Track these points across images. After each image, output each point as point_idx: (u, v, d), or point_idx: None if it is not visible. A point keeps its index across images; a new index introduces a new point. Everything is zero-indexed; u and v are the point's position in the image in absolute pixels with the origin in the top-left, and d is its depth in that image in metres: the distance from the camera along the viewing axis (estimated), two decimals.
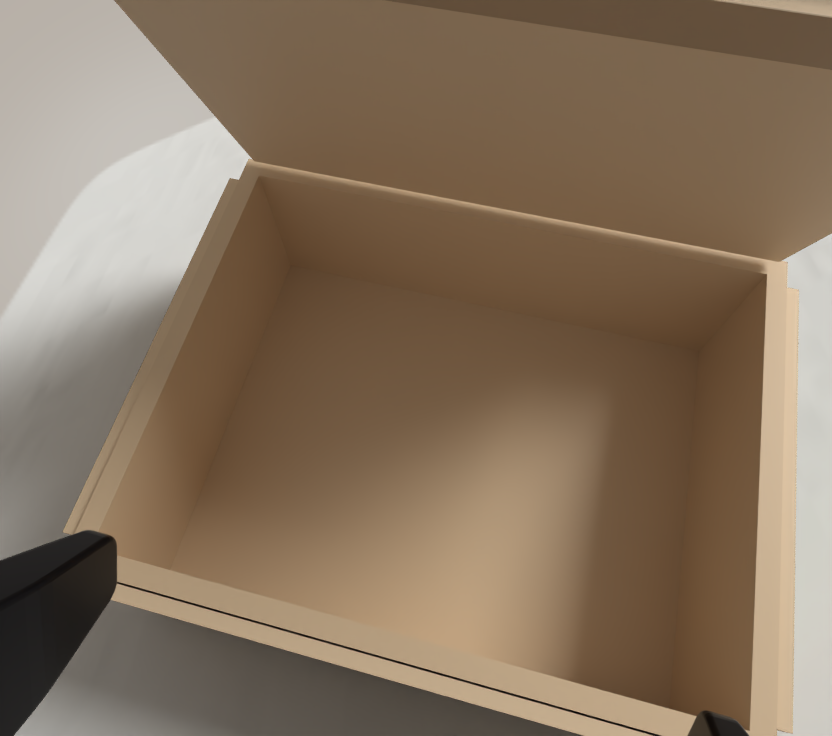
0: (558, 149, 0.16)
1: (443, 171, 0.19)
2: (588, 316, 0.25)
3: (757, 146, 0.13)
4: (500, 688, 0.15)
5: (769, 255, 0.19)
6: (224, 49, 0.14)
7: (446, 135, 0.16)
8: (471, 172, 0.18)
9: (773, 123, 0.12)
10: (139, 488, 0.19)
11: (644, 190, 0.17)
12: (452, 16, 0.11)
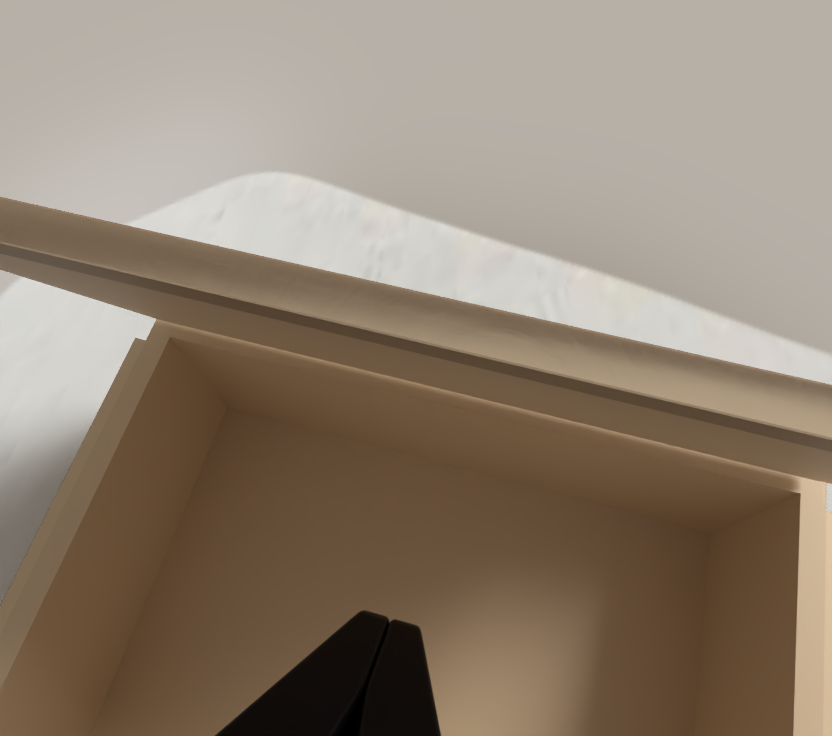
0: (526, 399, 0.11)
1: (385, 371, 0.15)
2: (577, 490, 0.20)
3: (808, 462, 0.09)
4: None
5: (805, 477, 0.15)
6: (54, 278, 0.10)
7: (377, 364, 0.12)
8: (420, 379, 0.14)
9: None
10: None
11: (644, 432, 0.13)
12: (336, 333, 0.07)
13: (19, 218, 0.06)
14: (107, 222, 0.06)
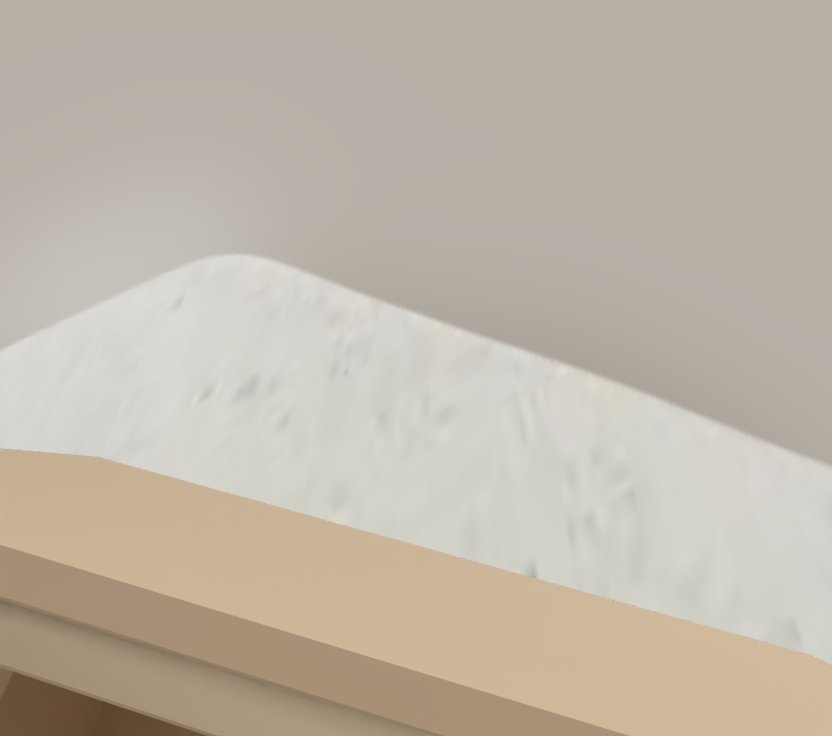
0: None
1: None
2: None
3: None
4: None
5: None
6: None
7: None
8: None
9: None
10: None
11: None
12: None
13: None
14: None
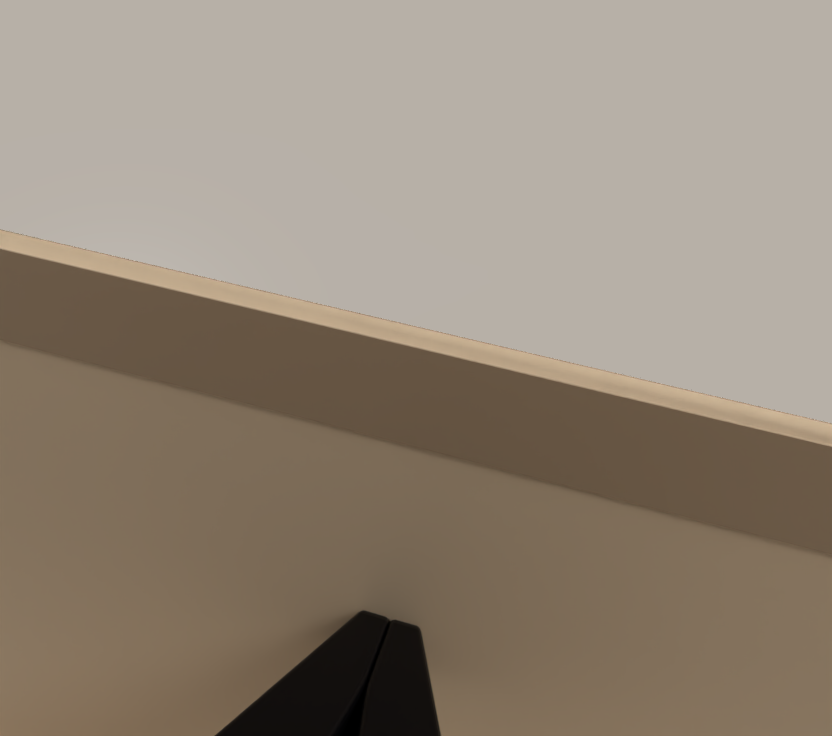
0: (455, 724, 0.09)
1: None
2: None
3: None
4: None
5: None
6: None
7: (271, 681, 0.10)
8: None
9: (823, 690, 0.07)
10: None
11: None
12: (313, 432, 0.07)
13: (74, 255, 0.07)
14: (155, 268, 0.07)
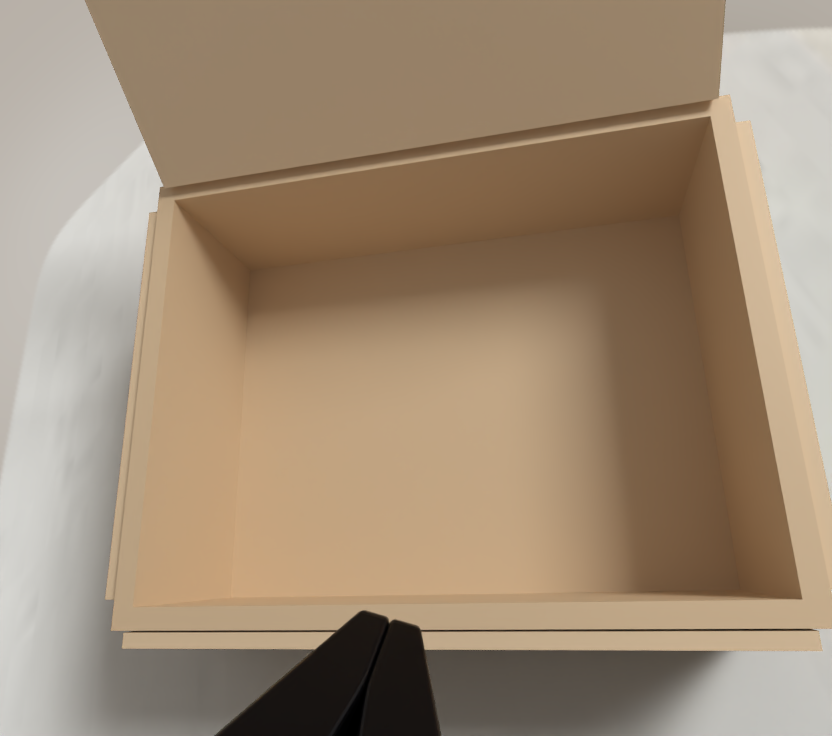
0: None
1: (339, 79, 0.19)
2: (551, 220, 0.23)
3: None
4: (541, 627, 0.15)
5: (701, 85, 0.18)
6: None
7: None
8: (364, 63, 0.18)
9: None
10: (163, 536, 0.19)
11: None
12: None
13: None
14: None
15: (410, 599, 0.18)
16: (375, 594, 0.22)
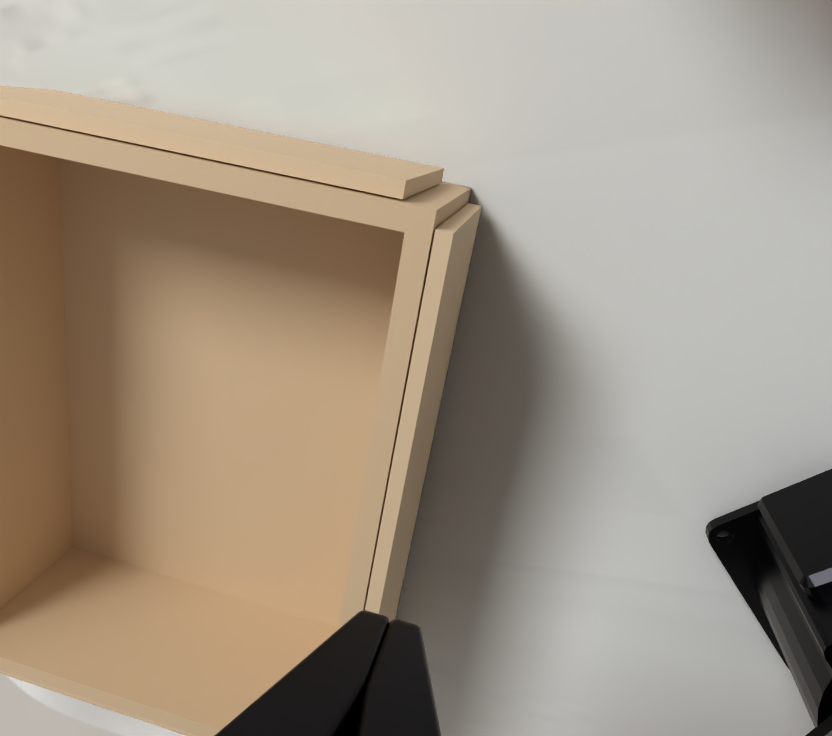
0: None
1: None
2: (44, 266, 0.21)
3: None
4: (388, 465, 0.16)
5: None
6: None
7: None
8: None
9: None
10: None
11: None
12: None
13: None
14: None
15: None
16: None
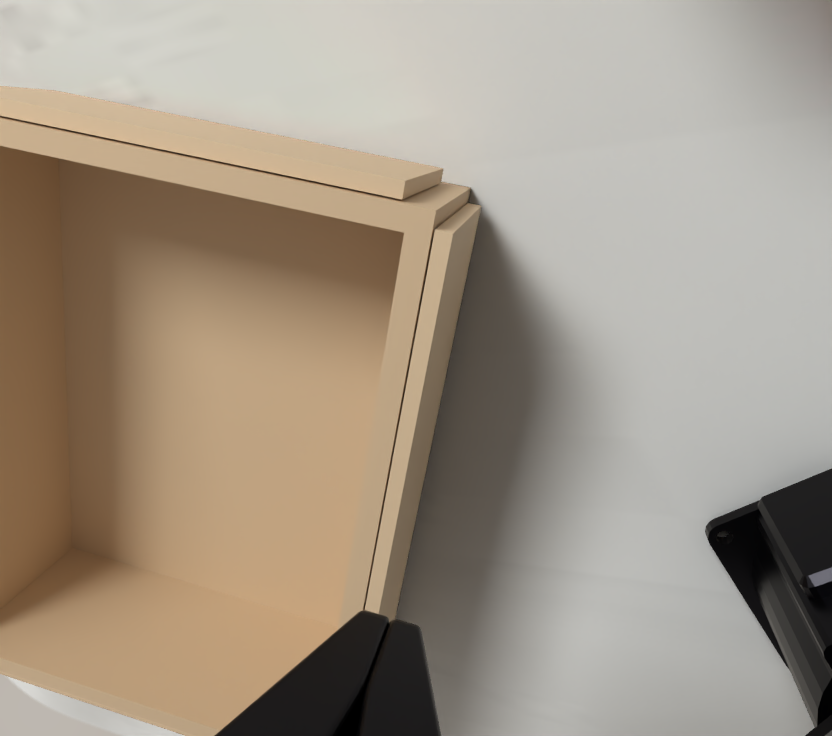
0: None
1: None
2: (44, 266, 0.21)
3: None
4: (388, 465, 0.16)
5: None
6: None
7: None
8: None
9: None
10: None
11: None
12: None
13: None
14: None
15: None
16: None
